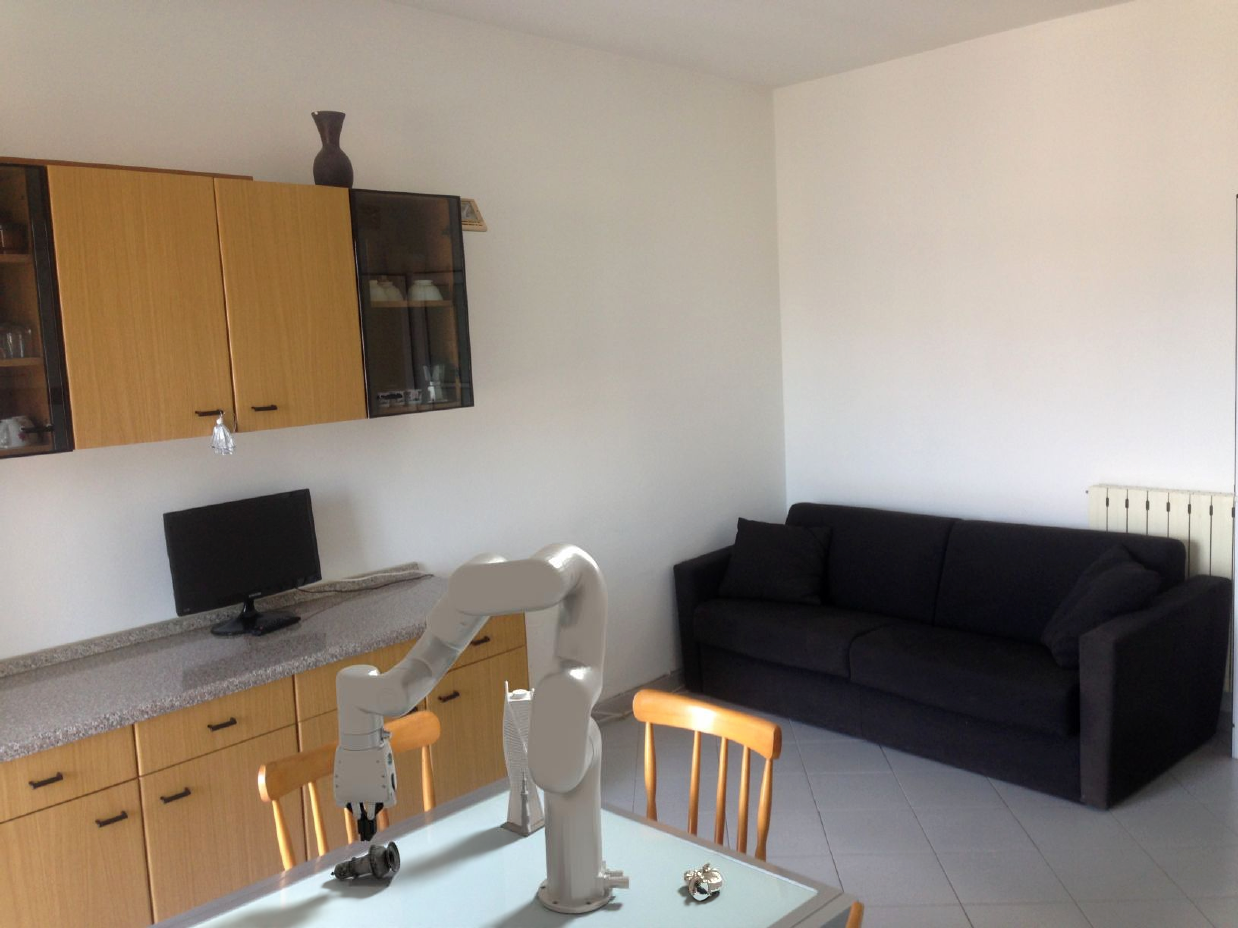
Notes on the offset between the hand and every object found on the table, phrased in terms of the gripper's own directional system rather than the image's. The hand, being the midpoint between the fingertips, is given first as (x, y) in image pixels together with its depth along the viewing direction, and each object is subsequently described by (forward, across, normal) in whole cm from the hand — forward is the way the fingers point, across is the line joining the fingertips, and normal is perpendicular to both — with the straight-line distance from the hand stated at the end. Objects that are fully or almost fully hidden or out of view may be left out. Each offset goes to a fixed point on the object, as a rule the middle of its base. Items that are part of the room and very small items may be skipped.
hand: (367, 837), depth 181 cm
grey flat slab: (+8, 0, 0) cm, 8 cm away
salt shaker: (+4, -5, 0) cm, 6 cm away
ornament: (+8, -58, +2) cm, 59 cm away
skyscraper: (+8, -24, -22) cm, 33 cm away
